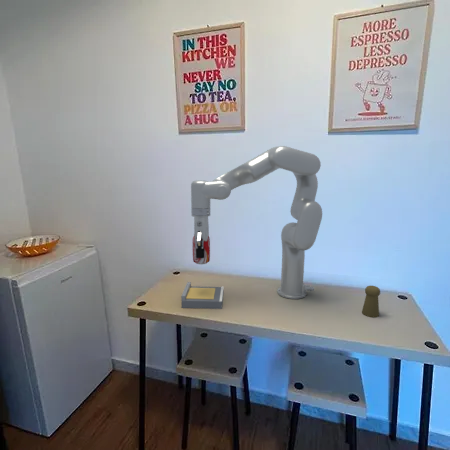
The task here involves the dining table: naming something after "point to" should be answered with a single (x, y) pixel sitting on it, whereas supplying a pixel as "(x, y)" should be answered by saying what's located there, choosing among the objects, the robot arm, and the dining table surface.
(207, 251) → the soda can
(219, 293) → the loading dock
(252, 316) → the dining table surface
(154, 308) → the dining table surface
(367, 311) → the cork
